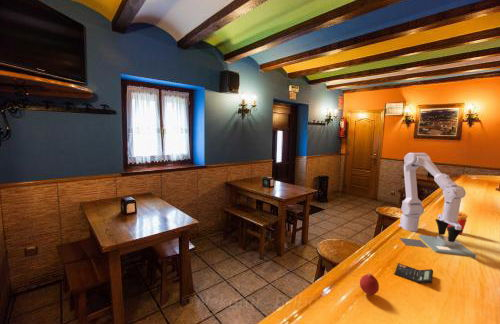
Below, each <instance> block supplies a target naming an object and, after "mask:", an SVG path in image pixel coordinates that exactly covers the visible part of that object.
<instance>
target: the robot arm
mask: <svg viewBox="0 0 500 324" xmlns="http://www.w3.org/2000/svg"><path fill="white" fill-rule="evenodd" d="M403 161H404V164H403V174H404V175H403V176H404V188H405V198H404V200H402V201H401V202H402V204H401V212H402V214H401V215H400V220H399V221H400V223H399V224H398V225H397V226H398V227H400V228H402V229H403V230H405V231H408V232H412V233H414V232H417V231H418V230H419V229H418V228H419V221H420V217H421V216H422V215H423V214H424V212H425V208H424V206H423V202H422V200H420V199H419V196H418V195H419V194H418V185H417V184H418V183H417V172H416V170H417V169H418V168H419V167H423V168H425V170H426V171H427V172H428V173H429V174H430V175H432V176H433V177H434V178H433V180H434V182H435V183H436V184H437V186H438V187H439V188H440V189H441V190H442V195H443V196H444V198H443V200H444V201H443V202H444V203H443V209H442V214H441V213H438V215H437V218H436V219H435V222H436V224H437V230H438V234H439V235H440V236H445V234H446V231H447V230H448V231H447V236H448V241H449V242H454V241H455V240H456V239H457V238H458V236H459V234H460V233H461V232H462V233H463V232H464V229H463V230H462V229H461V228H462V226H461V225H460V224H459V223H458V221H457V219H458V214H459V212H460V207H461V203H462V198H463V199H464V197H465V196H466V194H467V192H466V190H465V188H464V187H463V186H461V185H458V183H456V182H454V181H453V180H452V179H451V178H450V177H451V176H450V174H447V173H442V172H441V171H440V170H439V169H438V167H437V166H436V165H435V163H434V162H433V161H432V160H431V157H430V156H429V155H428V154H427V153H426V152H408V153H406V155H404V157H403ZM448 224H449V225H451V226H452V227H447V226H448Z"/></svg>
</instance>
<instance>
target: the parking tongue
mask: <svg viewBox="0 0 500 324" xmlns="http://www.w3.org/2000/svg"><path fill="white" fill-rule="evenodd" d="M398 239H399V240H400V241H401V242H402V243H403V244H404V245H405V246H409V247H419V248H424V249H426V248H427V249H429V246H428V245H427V244H426V243H425V242H424V241H423V240H421V239H415V238H404V237H398Z"/></svg>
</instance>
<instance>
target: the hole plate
mask: <svg viewBox="0 0 500 324" xmlns="http://www.w3.org/2000/svg"><path fill="white" fill-rule="evenodd" d="M418 238H419V240H421V241H422V242H423V243H424V244H425V245H426V246H427V247H428V248H430V249H431V250H432V251H434V252H435V253H438V254H447V255H456V256H463V257H470V258H471V259H474V260H475V259H476V257H477V254H476V253H474V252H473V251H471V250H470V249H469V248H467V247H466V246H464V245H463V244H462V243H460V242H459V241H457V240H456V239H455V246H454V247H447V246H442V245H441V244H440V243H438V242H437V236H431V235H424V234H419V235H418Z"/></svg>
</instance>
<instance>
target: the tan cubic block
mask: <svg viewBox="0 0 500 324" xmlns="http://www.w3.org/2000/svg"><path fill="white" fill-rule="evenodd" d="M436 237H437V242H438V243H440V244H441V245H442V246H447V247H454V246H455V241H454V242H449V241H448V235H447V236H446V235H437V236H436Z"/></svg>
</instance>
